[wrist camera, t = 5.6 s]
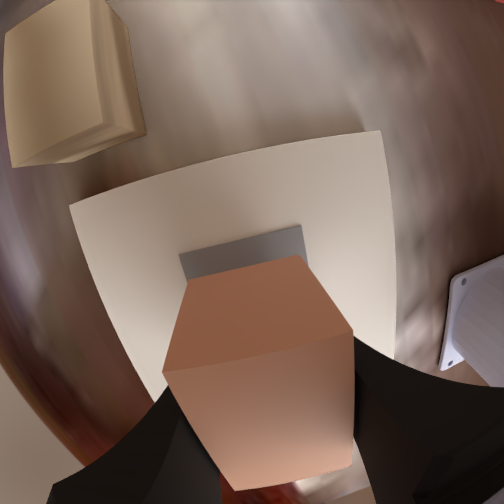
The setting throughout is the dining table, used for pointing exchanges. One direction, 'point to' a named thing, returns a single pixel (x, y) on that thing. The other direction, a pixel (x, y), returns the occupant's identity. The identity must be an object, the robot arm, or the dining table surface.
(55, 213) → the dining table surface
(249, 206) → the tower plate
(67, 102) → the birch brick
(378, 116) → the dining table surface
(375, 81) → the dining table surface
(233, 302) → the terracotta brick
